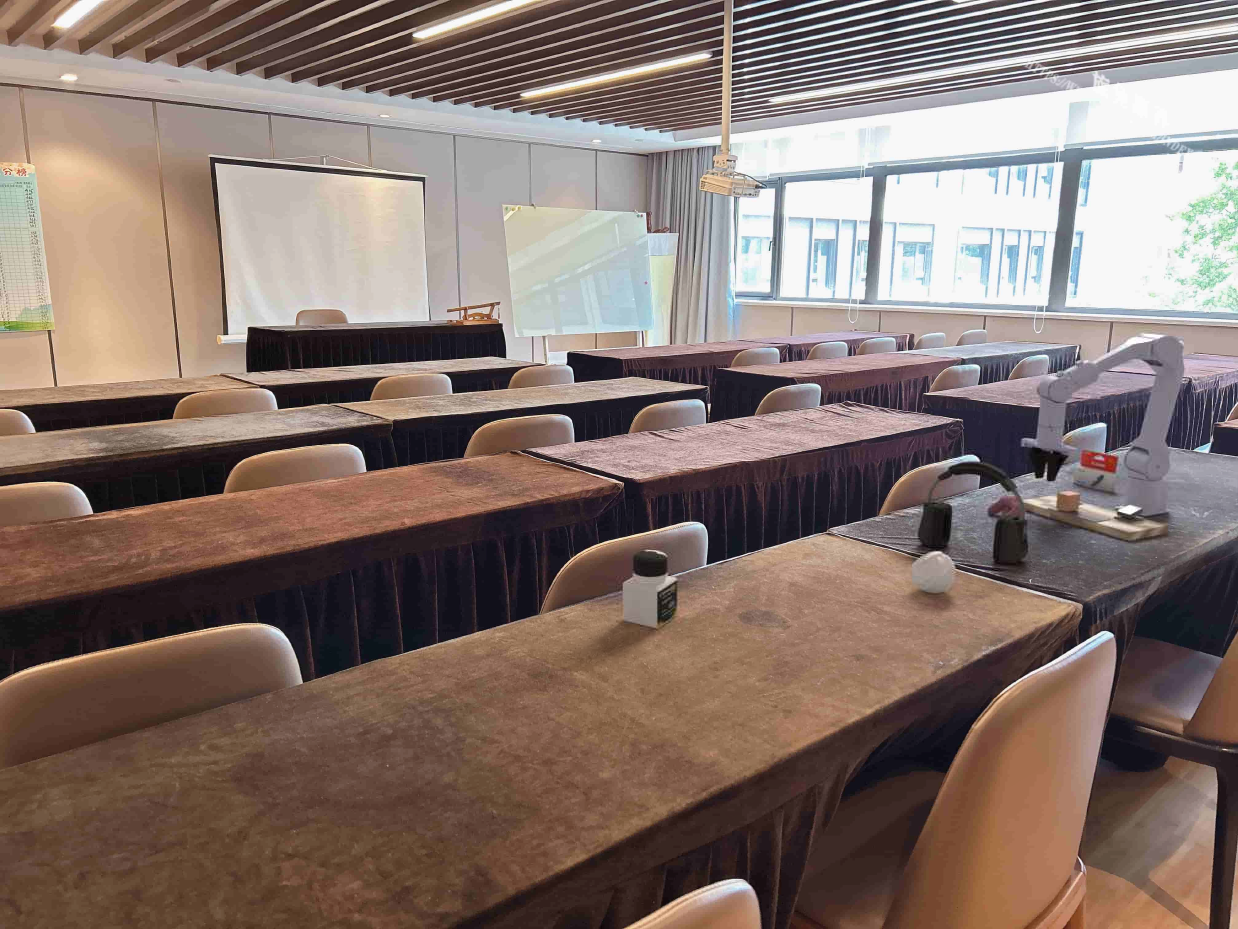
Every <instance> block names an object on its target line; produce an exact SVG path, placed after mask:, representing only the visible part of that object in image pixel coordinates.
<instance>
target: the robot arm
mask: <svg viewBox="0 0 1238 929" xmlns="http://www.w3.org/2000/svg"><path fill="white" fill-rule="evenodd" d="M1184 349H1185V347H1184V345H1183V344H1182V343H1181V341H1180V340H1178V338H1177V337H1175V336H1173V335H1165V334H1164V335H1163V334H1154V333H1153V334H1152V333H1149V332H1144V333H1140V334H1139V335H1137V336H1134V337H1132V338H1129V339H1128V340H1127V341H1125V343H1123V344H1121V345H1120V346H1117V347H1116V348H1114V349H1113V350H1111V351H1109V352H1107V353H1105V354H1104V355H1102V356H1101V357H1098V358H1097V359H1095V360H1093V361H1091V360H1077V361H1075V362H1074V365H1073V366H1071V367H1069V368H1067V369H1064V370H1063V371H1062V370H1059V371H1058V372H1056V375H1055V376H1052V375H1049V376H1046V377H1044V378H1043V379H1042V380H1041V381H1040V382H1039V384H1038V386H1036V393H1037V395H1038V396H1039V400H1040V401H1039V408H1038V409H1039V410H1038V420H1037V421H1038V423H1037V428H1036V429H1037V430H1036V438H1035V439H1034V438H1029V437H1026V438H1025V437H1024V438H1021V440H1020V443H1021V444H1020V447H1024V448H1025V447H1027V448H1031V449H1029V450H1027V455H1028V457H1029V460H1030V461H1031V463H1032V466H1033V467H1032V468H1033V471H1034V472H1033V473H1034V478H1035V479H1038V480H1039V479H1043V478H1044V476H1045V473H1046V482H1049V483H1050V482H1056V479H1057V476H1058V474H1059V471H1060V470H1061V468H1062V466H1063V465H1064V463H1065V462H1066V461H1067V459H1068V458H1069V457H1071V458H1072V457H1077V456H1078V450H1079V449H1078V447H1074V446H1070V445H1067V444H1064V443H1063V438H1064V430H1065V429H1064V428H1065V420H1066V409H1067V402H1068V400H1070V398H1072V396H1073V394H1074V393H1076V392H1078V391H1080V390H1082V389H1083V388H1085V387H1088V386H1090V385H1092V384H1094V383H1095V382H1096V383H1097V381H1099V378H1100V375H1101V374H1102V373H1105V372H1108V371H1109V370H1111V369H1114V368H1116V367H1118V366H1120V365H1122V364H1125V363H1126V362H1129V361H1132V360H1140V361H1142V362H1144V363H1146V364H1147V365H1148V366H1149V367H1150V368H1151V370H1152V371H1153V372H1154V373H1155V378H1154V381H1153V382H1154V383H1153V385H1152V389H1151V392H1150V396H1149V399H1148V403H1147V407H1146V410H1145V415H1144V419H1143V421H1142V426H1141V429H1140V434H1139V436H1138V437H1137V438H1135V439H1133V441H1131V443H1130V447H1129V448H1128V449H1127V451H1126V452H1125V454H1124V456H1123V459H1122V461H1123V465H1124V467H1125V468H1126V469H1127V472H1126V474H1127V478H1126V485H1125V492H1124V493H1125V494H1124V501H1123V505H1119V506H1115V507H1114V509H1116V510H1117V511H1118V510H1120V509H1122V508H1125V507H1127V506H1129V505H1131V506H1135V507H1139V508H1143V513H1141V514H1139V515H1138V516H1140V517H1149V516H1153V515H1154V516H1155V515H1160V514H1165V513H1169V512H1170V510H1169V509H1167V504H1168V497H1169V496H1168V495H1169V489H1170V486H1169V482H1168V480H1167V479H1166V478H1165V476H1166V475H1167V474H1168V473H1169V470H1170V469H1171V462H1170V454H1171V450H1170V448H1169V446H1168V445H1167V442H1166V439H1167V435H1168V432H1169V428H1170V424H1171V421H1172V417H1173V414H1174V410H1175V406H1176V402H1177V399H1178V395H1179V392H1180V388H1181V385H1182V380H1183V377H1184V373H1185V369H1186V368H1185V364H1184V358H1183V351H1184ZM1046 468H1047V470H1046ZM1045 471H1046V472H1045Z"/></svg>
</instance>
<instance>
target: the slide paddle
mask: <svg viewBox="0 0 1238 929" xmlns="http://www.w3.org/2000/svg"><path fill="white" fill-rule="evenodd" d="M1056 496H1057V504H1056V509H1059V510H1062V511H1066V512H1068V511H1074V510H1079V502H1081V501H1080V500H1081V493H1079V492H1075V491H1071V490H1068V491H1061V492H1057V495H1056Z"/></svg>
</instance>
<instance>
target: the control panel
mask: <svg viewBox="0 0 1238 929" xmlns="http://www.w3.org/2000/svg"><path fill="white" fill-rule="evenodd" d="M1022 501H1023V503H1024V505H1025V506H1026V512H1029V511H1030V512H1029V513H1032V512H1033V513H1032V514H1037V515H1039V514H1040V515H1039V516H1042V515H1044V516H1043V517H1046V516H1047V518H1049V517H1050V518H1049V519H1053V518H1054V519H1053V520H1056V519H1057V520H1056V521H1059V520H1060V522H1063V523H1066V522H1067V523H1066V524H1069V523H1070V524H1071V525H1074V526H1077V527H1080V526H1081V527H1080V528H1083V529H1086V528H1087V530H1090V531H1093V530H1094V532H1097V533H1100V532H1101V533H1100V534H1105V535H1108V536H1110V537H1114V538H1117V539H1120V538H1121V539H1122V540H1124V541H1127V540H1128V542H1131V540H1132V541H1136V539H1137V540H1140V539H1139V538H1142V539H1146V538H1145V537H1147V538H1150V536H1152V537H1156V536H1155V535H1158V536H1161V535H1160V534H1163V535H1166V534H1167V535H1168V530H1169V525H1168V524H1165V523H1161V522H1158V521H1154V520H1149V519H1146V518H1145V517H1144V516H1140V515H1137V516H1135V517H1133V518H1130V519H1129V518H1126V517H1122V516H1118V515H1117V511H1118V510H1113V509H1110V508H1105V507H1101V506H1097V505H1094V504H1090V503H1086V502H1082V501H1079V510H1074V511H1068V512H1066V511H1062V510H1059V509H1056V504H1057V495H1056V494H1053V495H1047V496H1042V497H1041V496H1040V497H1035V498H1029V499H1022ZM1070 524H1069V525H1070Z"/></svg>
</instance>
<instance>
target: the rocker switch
mask: <svg viewBox="0 0 1238 929" xmlns="http://www.w3.org/2000/svg"><path fill="white" fill-rule="evenodd" d="M1116 511H1117V515H1118V516H1122V517H1126V518H1129V519H1130V518H1133V517H1135V516H1140V515H1139V514H1141V513H1143V508H1139V507H1135V506H1131V505H1129V506H1127V507H1125V508H1122V509H1120V510H1118V509H1117V510H1116Z"/></svg>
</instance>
